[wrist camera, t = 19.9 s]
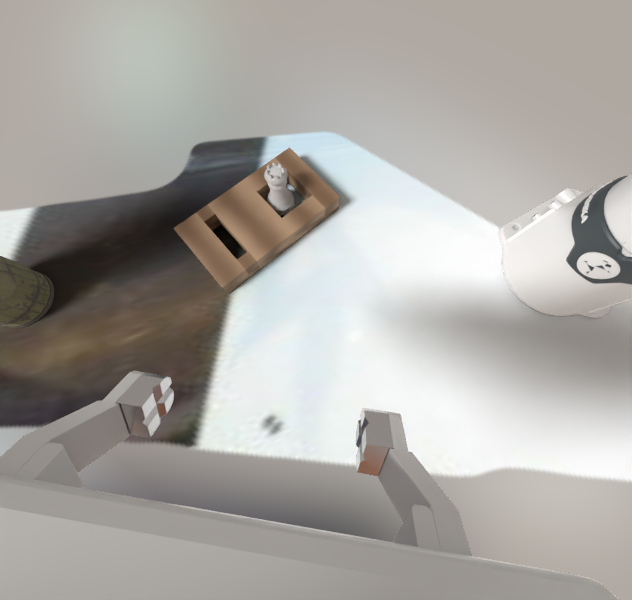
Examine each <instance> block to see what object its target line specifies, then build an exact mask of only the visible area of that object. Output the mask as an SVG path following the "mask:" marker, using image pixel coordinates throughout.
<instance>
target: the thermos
mask: <svg viewBox="0 0 632 600" xmlns="http://www.w3.org/2000/svg"><path fill="white" fill-rule="evenodd" d="M53 299H54V286H53V283H52V281H51V280H50V279H49V278H48V277H47V276H46V275H44V274H42V273H40V272H38V271H35V270H31V268H29V267H27V266H25V265H22V264H20V263H17V262H15V261H12V260H9V259H7V258H4V257H2V256H0V325H1V326H4V327H11V328H21V327H26V326H29V325H31V324H33V323H35V322H37V321H38V320H39V319H40V318H42V317H43V316H44V315H45V314H46V313H47V311H48V310H49V308H50V307H51V305H52V302H53Z"/></svg>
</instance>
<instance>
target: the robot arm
mask: <svg viewBox="0 0 632 600" xmlns="http://www.w3.org/2000/svg"><path fill="white" fill-rule="evenodd" d="M513 228H514V229H515V230H514V229H513ZM498 233H499V238H500V241H501V244H502V246H503V253H502V268H503V273H504V276H505V279H506V281H507V283H508V285H509V286H510V288H511V289H512V291H513V292H514V293H515V294H516V296H517V297H518V298H519V299H520V300H522V301H523V302H524V303H525V304H527V305H528V306H530V307H531V308H533V309H535V310H537V311H539V312H542V313H545V314H548V315H554V316H568V315H577V314H578V315H583V316H587V317H591V318H600V317H603V316H606V315H607V314H608V313H609V311H610V309H611V307H612V306H613V305H616V304H619V303H622V302H626V301H629V300H632V174H630V175H629V176H624V177H621V178H618V179H616V180H614V181H612V182H609V183H607V184H605V183H601V184H597V185H596V186H594V187H592V188H590V189H589V190H587V191H586V192H584V193H583V192H581V191H577V190H573V189H571V188H567V189H566V190H564V191H563V192H561V193H560V194H558V195H556V196H554V197H553V198H551V199H549V200H547V201H546V202H544V203H542V204H541V205H539V206H537V207H535V208H534V209H532V210H530V211H528V212H527V213H525V214H523V215H521V216H520V217H518V218H516V219H515V220H513V221H511V222H509V223H508V224H506V225H504V226H502V227H501V228H500V229H499V232H498ZM170 385H171V379H170V377H166V376H160V375H155V374H150V373H144V372H138V371H132V372H130V373H128V374H127V376H126V377H125V378H124V379H123V380H122V381H121V382H120V383H119V384H118V385H117V386H116V387H115V388H114V389H113V390H112V391H111V392H110V393H109V394H108V395H107V396H106V397H105V398H104V400H103V401H96V402H94V403H92V404H90V405H88V406H86V407H84V408H82V409H80V410H78V411H75V412H73V413H71V414H69V415H67V416H65V417H63V418H61V419H59V420H57V421H54V422H52V423H50V424H48V425H46V426H44V427H42V428H40V429H38V430H36V431H34V432H31V433H30V434H27V435H25V436H23V437H22V438H21V439H20V440H19V441H18V442H16V443H15V444H14V445H13V446H12V447H11V448H10V449H9V450H8V451H6V452H5V453H4V454H3V455H2V456H1V457H0V600H619V599H618V598H617V597H616V596H615V595H614V594H613V593H612V592H610V590H608V589H607V588H606V587H605V586H604V585H603V584H601V583H600V582H598V581H596V580H594V579H592V578H588V577H585V576H581V575H575V574H570V573H563V572H558V571H552V570H547V569H541V568H535V567H529V566H523V565H518V564H512V563H506V562H501V561H495V560H489V559H484V558H478V557H473V556H472V555H471V551H470V548H469V545H468V541H467V538H466V535H465V531H464V528H463V525H462V521H461V518H460V515H459V511H458V510H457V509H456V507H455V506H454V505H453V503H451V501H450V500H449V499H448V497H447V496H446V495H445V494H444V492H443V491H442V490H441V488H440V487H439V486H438V485H437V483H436V482H435V481H434V480H433V478H432V477H431V476H430V475H429V473H428V472H427V471H426V469H425V468H424V467H423V466H422V464H421V463H420V462H419V461H418V459H417V458H416V457H415V456H414V454H413V453H412V452H408V448H407V443H406V438H405V433H404V428H403V423H402V418H401V415H400V414H398V413H392V412H386V411H380V410H373V409H367V408H363V409H362V411H361V420H359V421H358V425H357V431H356V445H357V447H358V448H359V449H358V452H357V455H356V459H357V472H359V473H364V474H369V475H374V476H379V477H378V478H379V480H380V482H381V483H382V485H383V487H384V489H385V491H386V493H387V495H388V496H389V498H390V500H391V502H392V504H393V505H394V507H395V509H396V511H397V513H398V515H399V517H400V518H401V520H402V522H403V524H402V526H401V527H400V529H399V531H398V533H397V534H396V536H395V538H394V540H393V541H394V543H392V542H387V541H381V540H375V539H369V538H364V537H358V536H352V535H346V534H341V533H335V532H330V531H324V530H318V529H312V528H307V527H301V526H296V525H289V524H284V523H278V522H272V521H267V520H261V519H256V518H250V517H244V516H239V515H233V514H227V513H222V512H216V511H210V510H204V509H199V508H193V507H187V506H182V505H176V504H170V503H165V502H159V501H153V500H147V499H141V498H136V497H130V496H124V495H119V494H113V493H107V492H102V491H96V490H90V489H84V488H82V487H83V480H82V479H81V477H80V475H79V473H78V472H79V471H81V470H82V469H83V468H85V467H86V466H88V465H89V464H91V463H92V462H93V461H95V460H96V459H98V458H99V457H100V456H102V455H103V454H105V453H106V452H108V451H109V450H110V449H112V448H113V447H114V446H116V445H117V444H119V443H120V442H122V441H123V440H124V439H126V438H127V437H129V436H130V435H137V436H144V437H151V436H152V435H153V433H154V432H155V430H156V429H157V427H158V426H159V424H160V417H162V416H163V415H165V414H167V412H168V411H169V409H170V408H171V405H172V403H173V398H174V393H173V390H172V389H171V388H170V387H169V386H170ZM129 434H130V435H129Z"/></svg>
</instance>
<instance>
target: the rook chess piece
mask: <svg viewBox="0 0 632 600" xmlns="http://www.w3.org/2000/svg"><path fill="white" fill-rule="evenodd" d="M287 176H288V173H287V170H286V169H285V168H284V167H282V164H280V163H279V164H278V165H276V162H272V166H270V165H268V166H267V169H266V171H265V173H264V178H265V180H266V181H267V182H268V186H269V188H270V193H269V194H268V197H267V203H268V204H269V205H270V206H271V207H272V208H273V209H274V211H275V212H276V213H277V214H278V215H280V216H282V215H286V214H288V213H289V212H290V211H292V210H293V209H294V206H295V199H294V196H293V194H292V193H291V191H290V190H289V189H287V186H286V185H287Z"/></svg>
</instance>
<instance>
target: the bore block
mask: <svg viewBox="0 0 632 600" xmlns="http://www.w3.org/2000/svg"><path fill="white" fill-rule="evenodd" d="M272 162H276V165H278V164H279V163H280V164H282V167H284V168H285V169H286V170H287V173H288V176H287V184H288V183H289V184H290V185H291V186H292V187H293V188H294V189H295V190H296V191H297V192H298V193H299V194H300V195H301V196H302V197H303V198H304V199H305V201H304V202H302V203H301V204H300V205H298V206H297V207H296V208H294V209H293V210H292V211H290V212H289V213H288V214H286V215H285V216H284V217H282V218H281V217H280V216H279V215H278V214H277V213H276V212H275V211H274V209H273V208H272V207H271V206H270V205H269V204H268V203H267V202H266V201H265V200H266V199H267V197H268V194H269V193H270V188H269V186H268V182H267V181H266V180H265V178H264V173H265V171H266V169H267V166H268V165H270V166H272ZM339 201H340V196H339V195H338V194H337V193H336V192H335V191H334V190H333V189H332V188H330V187H329V186H328V185H327V184H326V183H325V182H324V181H323V180H322V179H321V178H320V177H319V176H318V175H317V174H316V173H315V172H314V171H313V170H312V169H311V168H310V167H309V166H308V165H307V164H306V163H305V162H304V161H303V160H302V159H301V158H300V157H299V156H298V155H297V154H296V153H295V152H293V151H292V150H291V149H290V148H288V149H287V150H285V151H284V152H283V153H281V154H280V155H278V156H277V157H275V158H274V159H272V160H271V161H270V162H268V163H267V164H265V165H264V166H262V167H261V168H259V169H258V170H257V171H255V172H254V173H252V174H251V175H249V176H248V177H247V178H245V179H244V180H242V181H241V182H239V183H238V184H236V185H235V186H234V187H232V188H231V189H229V190H228V191H226V192H225V193H224V194H222V195H221V196H219V197H218V198H216V199H215V200H213V201H212V202H211V203H209V204H208V205H206V206H205V207H203V208H202V209H201V210H199V211H198V212H196V213H195V214H193V215H192V216H190V217H189V218H188V219H186V220H185V221H183V222H182V223H180V224H179V225H178V226H176V227H175V228H173V229H174V230H175V231H176V232H177V233H178V235H179V236H180V237H181V238H182V239H183V241H184V242H185V243H186V244H187V246H188V247H189V248H190V249H191V250H192V252H193V253H194V254H195V255H196V256H197V258H198V259H199V260H200V261H201V262H202V264H203V265H204V266H205V267H206V268H207V270H208V271H209V272H210V273H211V275H212V276H213V277H214V278H215V279H216V281H217V282H218V283H219V284H220V285H221V287H222V288H223V289H224V290H225V291H226V292H227V293H228V294H229V293H230V292H232V291H233V290H234V289H235V288H237V287H238V286H239V285H241V284H242V283H243V282H244V281H246V280H247V279H248V278H250V277H251V276H252V275H253V274H255V273H256V272H257V271H259V270H260V269H261V268H262V267H264V266H265V265H266V264H268V263H269V262H270V261H271V260H273V259H274V258H275V257H277V256H278V255H279V254H280V253H282V252H283V251H284V250H286V249H287V248H288V247H289V246H291V245H292V244H293V243H295V242H296V241H297V240H298V239H300V238H301V237H302V236H304V235H305V234H306V233H307V232H309V231H310V230H311V229H313V228H314V227H315V226H316V225H318V224H319V223H320V222H322V221H323V220H324V219H325V218H327V217H328V216H329V215H331V214H332V213H333V212H334V211H336V210H337V209H338V208H339ZM221 224H222V226H223V227H224V228H225V229H226V230H227V231H228V232H229V234H230V235H231V236H232V237H233V238H234V239H235V240H236V241H237V243H238V244H239V245H240V246H241V247H242V248H243V249H244V251H245V252H246V253H245V254H244V255H243V256H241V257H240V258H239V259H236V258H235V257H234V256H233V255H232V254H231V252H230V251H229V250H228V249H227V248H226V247H225V245H224V244H223V243H222V242H221V241H220V240H219V238H218V237H217V236H216V235H215V234H214V233H213V232H212V231H213V230H214V229H216V228H217V227H219V226H220V225H221Z"/></svg>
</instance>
